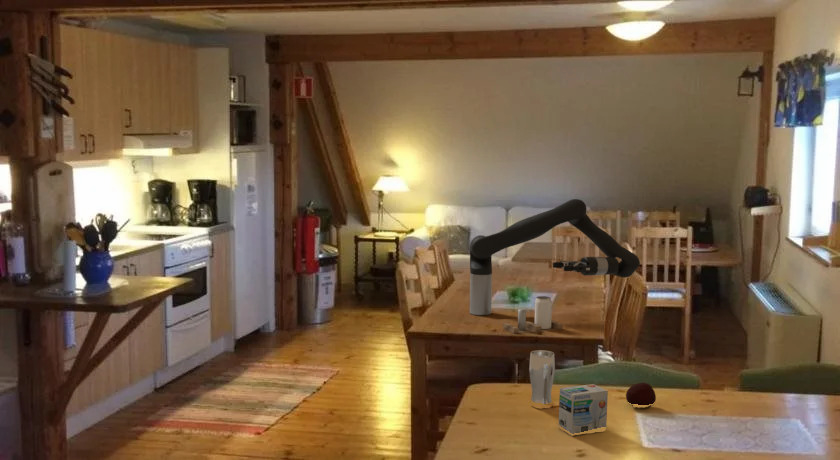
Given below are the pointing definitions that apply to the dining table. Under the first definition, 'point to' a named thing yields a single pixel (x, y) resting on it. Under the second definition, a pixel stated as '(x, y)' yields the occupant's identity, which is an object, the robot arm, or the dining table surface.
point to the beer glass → (541, 375)
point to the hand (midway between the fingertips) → (558, 266)
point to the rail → (531, 327)
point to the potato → (641, 394)
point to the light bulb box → (582, 408)
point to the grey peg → (522, 319)
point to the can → (543, 312)
